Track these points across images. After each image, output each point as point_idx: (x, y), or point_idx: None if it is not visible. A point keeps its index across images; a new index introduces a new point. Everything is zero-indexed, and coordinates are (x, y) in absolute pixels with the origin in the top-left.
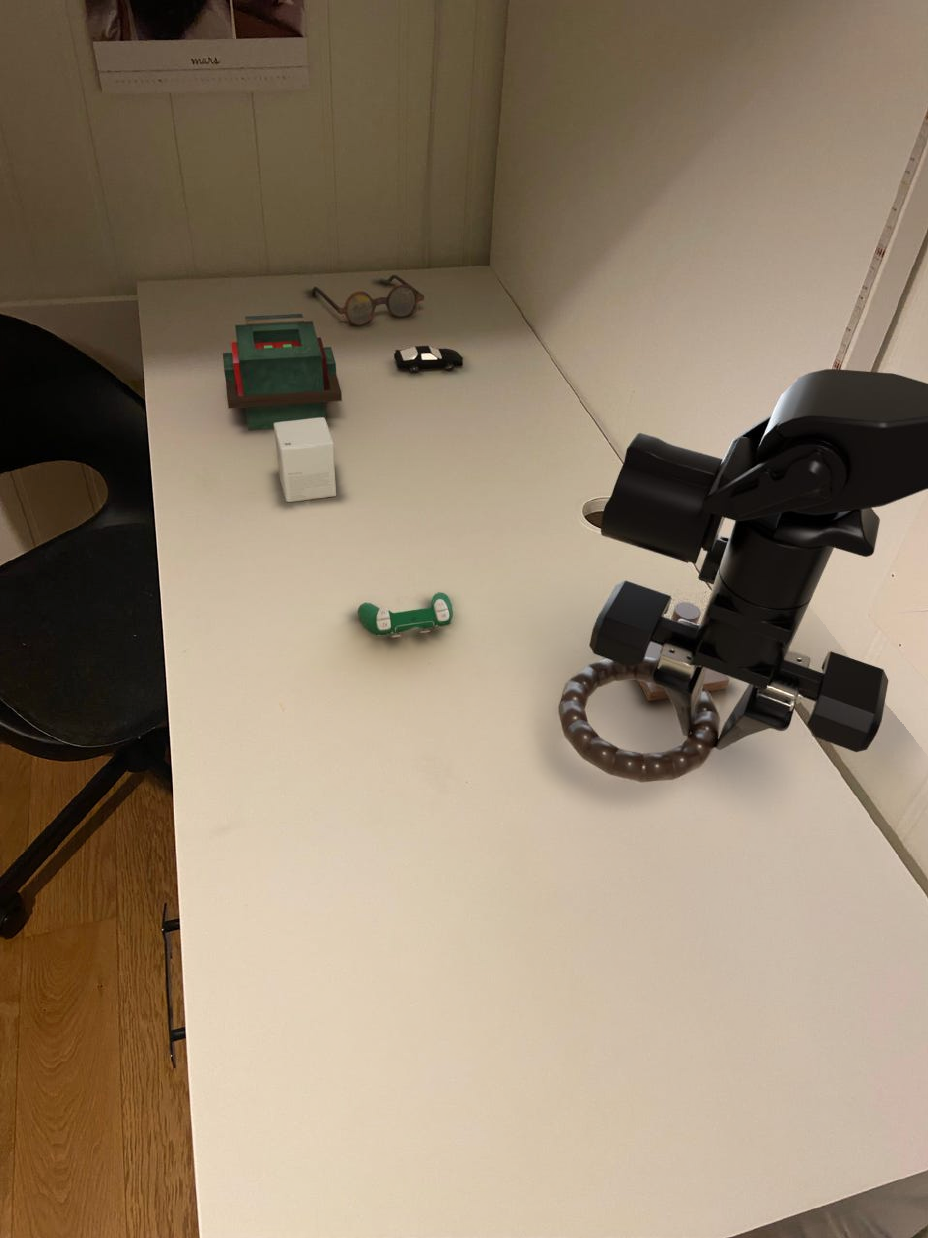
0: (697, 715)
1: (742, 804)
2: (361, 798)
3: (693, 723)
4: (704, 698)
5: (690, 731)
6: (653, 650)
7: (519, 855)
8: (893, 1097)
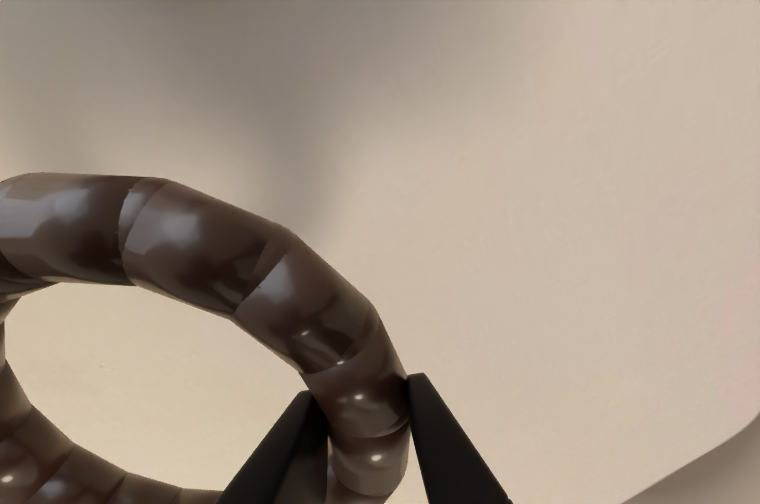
0: (302, 377)
1: (470, 114)
2: None
3: (318, 483)
4: (274, 326)
5: (326, 476)
6: None
7: (243, 402)
8: (744, 383)
